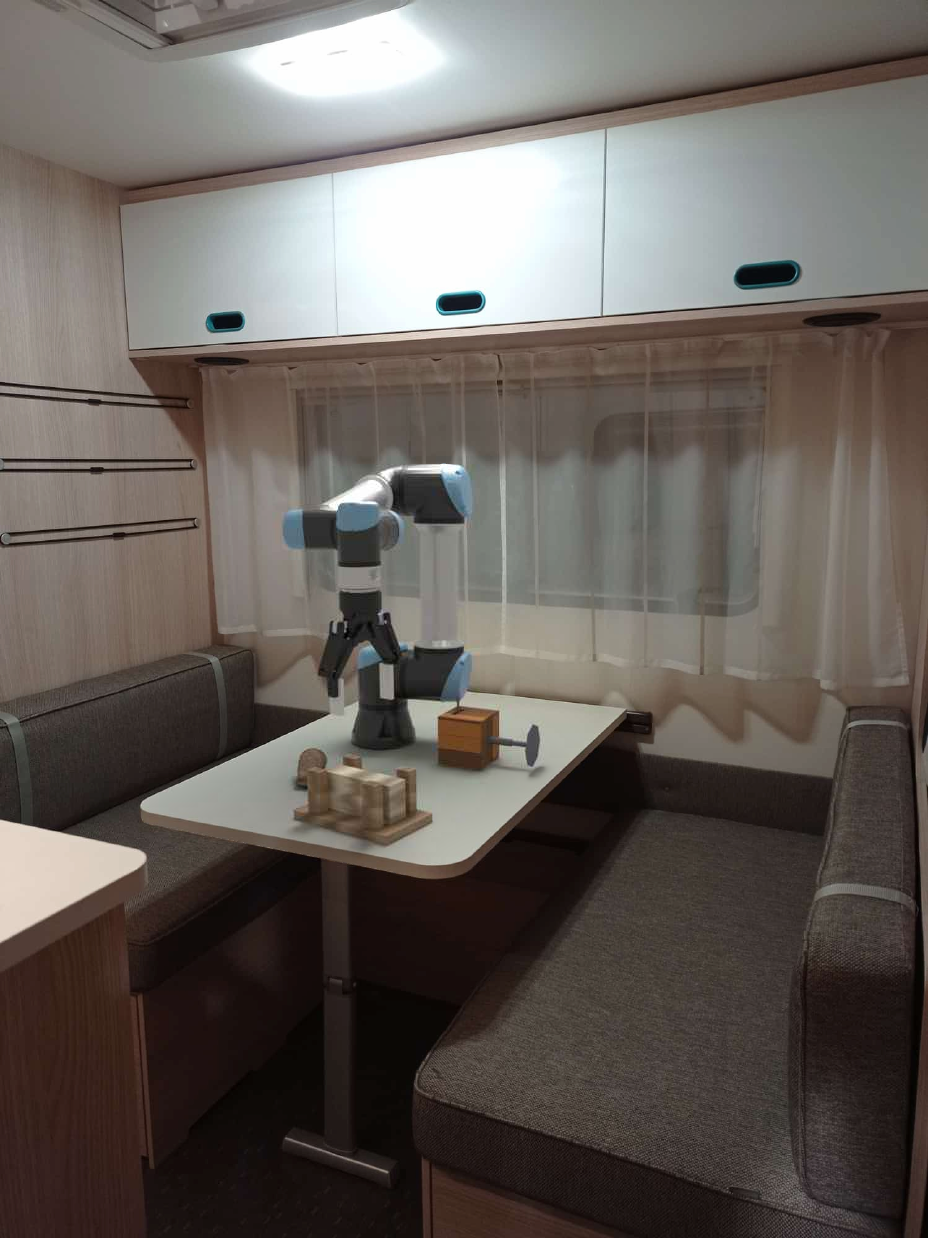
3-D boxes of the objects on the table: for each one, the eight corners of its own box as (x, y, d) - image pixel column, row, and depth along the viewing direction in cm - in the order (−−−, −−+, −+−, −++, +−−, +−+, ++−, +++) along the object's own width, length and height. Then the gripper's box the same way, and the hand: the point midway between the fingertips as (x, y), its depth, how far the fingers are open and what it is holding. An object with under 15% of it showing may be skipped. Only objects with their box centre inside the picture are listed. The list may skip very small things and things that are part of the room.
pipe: (350, 775, 174) (373, 752, 183) (277, 765, 180) (302, 743, 189) (353, 804, 176) (376, 781, 185) (281, 793, 182) (306, 771, 190)
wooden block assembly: (293, 817, 164) (292, 768, 163) (341, 797, 175) (340, 750, 173) (386, 845, 152) (385, 791, 150) (432, 821, 162) (432, 770, 161)
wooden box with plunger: (523, 777, 187) (524, 710, 184) (437, 765, 195) (437, 701, 193) (541, 763, 196) (541, 699, 194) (458, 751, 204) (458, 690, 202)
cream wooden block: (322, 806, 166) (321, 770, 164) (338, 799, 169) (337, 763, 168) (390, 824, 157) (389, 786, 156) (405, 816, 160) (405, 779, 159)
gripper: (326, 599, 146) (330, 725, 149) (420, 583, 166) (421, 694, 169) (293, 596, 150) (298, 718, 153) (388, 580, 170) (390, 689, 173)
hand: (362, 706), depth 161 cm, fingers open, 13 cm apart
